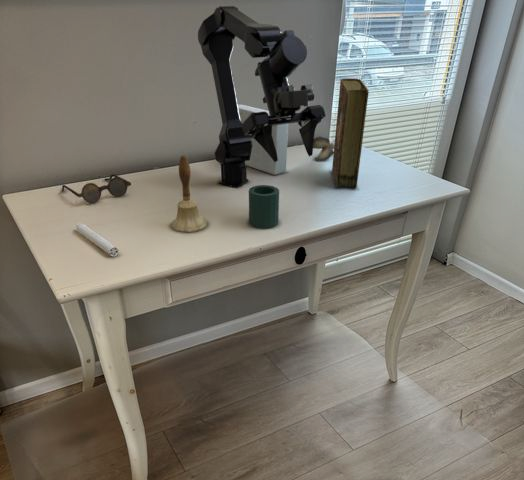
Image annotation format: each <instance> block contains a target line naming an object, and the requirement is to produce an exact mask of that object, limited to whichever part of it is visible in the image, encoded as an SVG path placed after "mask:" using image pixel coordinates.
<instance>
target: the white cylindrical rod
mask: <svg viewBox="0 0 524 480" xmlns="http://www.w3.org/2000/svg"><path fill="white" fill-rule="evenodd" d="M75 229H76V231H77V232H78V233H79V234H81V235H82V236H83V237H85V238H86V239H87V240H89V241H90V242H91V243H93V244H94V245H96V246H97V247H98V248H100V250H103V251H104V252H105V253H106V254H108V255H109V256H111V257H117V256H118V254H119V249H118V248H117V247H116V246H115V245H114V244H112V243H111V242H110V241H108V240H107V239H105V238H103V237H102V236H101V235H100V234H98V233H97V232H95V231H94V230H92V229H91V228H90V227H88V226H87V225H85V224H84V223H81V222H79V223H76V224H75Z"/></svg>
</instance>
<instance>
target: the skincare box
mask: <svg viewBox="0 0 524 480" xmlns="http://www.w3.org/2000/svg"><path fill="white" fill-rule="evenodd" d="M237 105H238V111H239V116H240V121H241V122H242V123H243V122H244V121H245V120H246V119H247V118H248V117H249V115H250V114H251V113H257V112H267V113H268V115H270V114H269V111H268V109H262V108H258V107H253V106H249V105H244V104H237ZM250 136H251V135H250ZM272 138H273V141H274V145H275V148H276V152H277V157H278V161H277V162H274V161H273V160H272V158H271V157H270V156H269V155H268V153H267V152H266V151H265V150H264V148H263V147H262V146H261V145H260V144H259V143H258V142H257V141H256V140H255V139H254V138H251V140H252V151H251V157H250V160H249V161H248V160H247V161H245V166H246V167H249V168H253V169H256V170H259V171H262V172H265V173H268V174H270V175H274V176H276V175H279V174H283V173H286V172H287V160H288V159H287V158H288V140H289V124H282V125H274V126H272Z"/></svg>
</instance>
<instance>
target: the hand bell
mask: <svg viewBox="0 0 524 480" xmlns="http://www.w3.org/2000/svg"><path fill="white" fill-rule="evenodd" d="M191 173H192V172H191V166H190V163H189V160H188V158H187V155H180V158H179V164H178V175H179V179H180V182H181V185H182V200H181V201H179V202H177V213H176V217H175V219H174V220H173V221H172V222H171V228H172V229H173V230H175V231H177V232H180V233H193V232H198V231H201V230H203V229H205V228H206V227H207V225H208V224H207V221H206V220H205V219H204V218H203V217H202V216H201V213H200V212H199V208H198V203H197V202H196V201H194V200H192V198H191V190H190V180H191Z"/></svg>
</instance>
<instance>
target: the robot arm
mask: <svg viewBox="0 0 524 480" xmlns="http://www.w3.org/2000/svg"><path fill="white" fill-rule="evenodd" d="M236 38H238V39H239V40H240V41H242V42H243V43H244V50H245V51H246V52H247V54H248V55H249V56H250V57H251V58H253V59H258V58H264V59H263V60H262V61H257V66H256V68H255V71H254V76H255V77H259V78H260V82H261V87H262V90H263V91H262V92H263V94H264V97H262V103H263V104H266V107H267V111H269V114H270V115H268V113H267V112H257V113H251V114H250V115H249V117H248V118H247V119H246V120H245V121H244V122H243V123H242V122H241V121H240V116H239V111H238V105H239V104H238V99H237V95H236V94H237V93H236V89H235V84H234V78H233V72H232V67H231V61H230V60H231V56H232V53H233V50H234V40H235V39H236ZM197 40H198V43H199V45H200V48H201V52H202V55H203V57H204V58H205V59H206V61H207V62H208V63H209V64H210V66H211V70H212V71H211V72H212V76H213V81H214V86H215V92H216V97H217V103H218V107H219V112H220V118H221V123H222V125H221V128H220V131H219V134H218V141H219V142H218V145H217V147H216V149H215V152H214V157H215V161H216V162H218V163H219V164H220V176H221V177H220V179H219V180H218V182H217V183H218V184H219V185H223V186H228V187H233V188H239V187H241V186H242V185H244V184H246V183H248V182H249V179H248V177H247V174H248V172H247V169H248V168H247V166H246V165H245V161H247V160H248V161H249V160H250V157H251V151H252V140H251V138H254V139H255V140H256V141H257V142H258V143H259V144H260V145H261V146H262V147H263V148H264V150H265V151H266V152H267V153H268V155H269V156H270V157H271V158H272V160H273V161H274V162H277V161H278V157H277V152H276V148H275V145H274V141H273V138H272V126H274V125H282V124H288V125H289V124H296V123H297V125H298V126H300V128H298V131H299V134H300V135H299V136H300V137H301V140H302V143H303V146H304V148H305V151H306V154H307V155H308V157H312V156H313V154H314V148H313V142H314V139H315V133H316V128H317V126H318V125H319V124H320V123H321V122H322V120H323V119H324V118H325V117H327V115H326V112H325V108H324V107H323V106H322V105H320V104H315V105H309V102H312V101H313V102H314V100H315V90H314V86H313V84H304V85H301V86H300V90H295V87H294V85H293V84H292V85H291V84H289V79H288V77H291V75H292V74H293V73H294V72H295V71H296V70H297V69H298V68H299V67H300V66H301V65H302V64H303V63H304V62H305V61H306V59H307V55H308V52H307V51H308V49H307V46H306V45H305V44H304V42H303V41H302V39H301V38H299V37H298V36H297V35H296V34H295V31H294V30H292V29H291V30H284V31H283V32H282V30H281V29H280V27H279V26H277V25H273V24H267V23H260V22H257V21H256V20H254V19H253V18H251V17H249V16H248V15H247V14H245V13H243V12H242V11H241V10H239V8H238V6H237V7H236V6H235V5H219V6H218V7H216V8H215V9H214V12H213V13H212V14H211V15H209V16H207V17H206V18H204V20H202V22H201V24H200V27H199V29H198V31H197ZM302 107H304V108H303V110H301V111H300V109H301V108H302ZM297 111H300V112H297ZM250 135H251V136H250Z"/></svg>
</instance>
